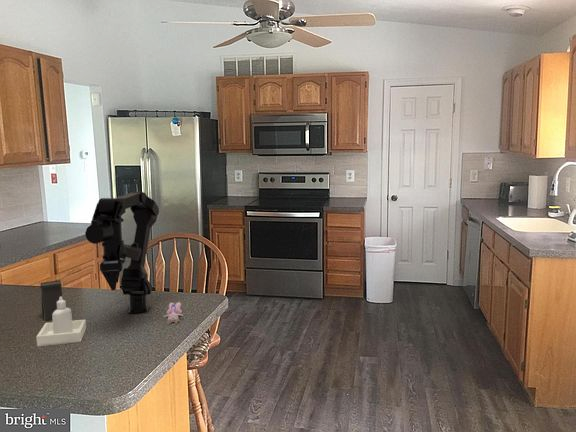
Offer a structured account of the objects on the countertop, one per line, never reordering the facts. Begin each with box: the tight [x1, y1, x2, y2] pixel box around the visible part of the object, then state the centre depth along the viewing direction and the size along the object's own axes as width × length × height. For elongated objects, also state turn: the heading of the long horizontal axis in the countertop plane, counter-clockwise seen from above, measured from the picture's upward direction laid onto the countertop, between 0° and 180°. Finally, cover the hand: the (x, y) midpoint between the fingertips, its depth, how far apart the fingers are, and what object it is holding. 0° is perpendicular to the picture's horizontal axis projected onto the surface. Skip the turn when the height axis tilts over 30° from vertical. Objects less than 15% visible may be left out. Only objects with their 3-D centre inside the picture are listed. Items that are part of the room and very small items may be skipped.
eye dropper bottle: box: [51, 296, 73, 334], centre depth 145 cm, size 4×6×12 cm
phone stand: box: [40, 279, 63, 322], centre depth 164 cm, size 9×6×12 cm, turn 34°
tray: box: [36, 319, 87, 347], centre depth 146 cm, size 12×12×3 cm
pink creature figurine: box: [163, 301, 184, 325], centre depth 162 cm, size 6×6×15 cm
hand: (115, 286), depth 154 cm, fingers open, 9 cm apart
